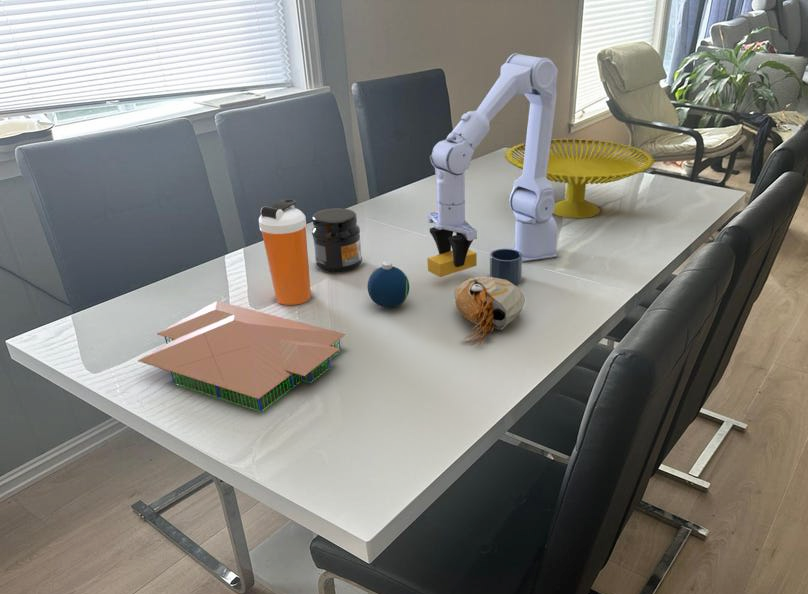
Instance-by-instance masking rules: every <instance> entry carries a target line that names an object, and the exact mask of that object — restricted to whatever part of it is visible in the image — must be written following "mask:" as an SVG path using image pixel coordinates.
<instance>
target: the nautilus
mask: <svg viewBox="0 0 808 594" xmlns="http://www.w3.org/2000/svg"><path fill="white" fill-rule="evenodd" d="M525 295H526V294H524V293H523V291H522V290H521V289H520V288H519V287H517V285H514V284H512V283H511V282H509V281H507V280H504V279H498V278H493V277H489V276H479V277H478V276H477V277H476V276H475V277H471V278H468V279H466V280H464V281H462V282H461V283H460V284H459V285H458V286H457V287H455V289H454V293H453V299H454V303H455V306H456V308H457V310H458V311H459V313H460V314H461V316H463V317H462V318H465V319H467V321H468V322H470V323H472V324H476V325H475V326H474V327H473V328H471V329H470V331H472V330H474V331H472V332H471V334H469V335H467V336H466V337H464V338H463V339H464V340H465V339H469V340H468V341H465V343H470V342H474V343H472V344H471V345H470V347H472V346H473V345H475V344H477V343H478V342H479V341H480V342H479V345H481V344H482V339H483V338H484V337H485V336H486V340H488V338H489V335H490V334H491V333H492V331H494V329H497V330H499V331H503V330H504V329H505V328H506V327H507V326H508V325H509V324H510V323H511V322H512V321H513V320H514V319H516V318H517V316H518V315H519V314H520V313H521V311H522V309H523V308H524V307H525V304H526V296H525ZM478 326H479V327H478ZM475 328H476V329H475ZM478 330H479V331H478ZM488 332H489V333H488ZM481 333H482V335H481ZM487 333H488V334H487ZM479 335H481V336H480V337H478V336H479Z"/></svg>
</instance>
